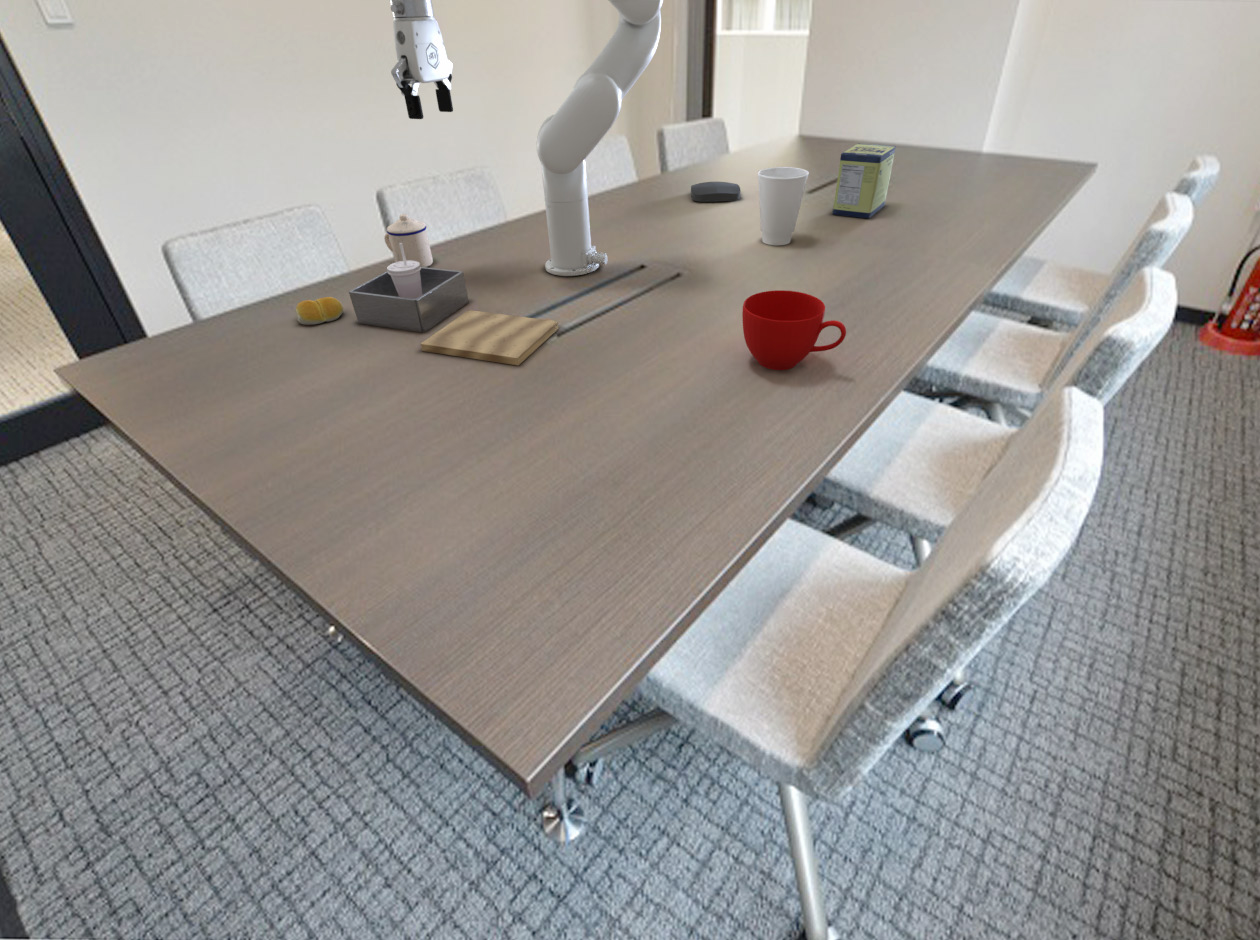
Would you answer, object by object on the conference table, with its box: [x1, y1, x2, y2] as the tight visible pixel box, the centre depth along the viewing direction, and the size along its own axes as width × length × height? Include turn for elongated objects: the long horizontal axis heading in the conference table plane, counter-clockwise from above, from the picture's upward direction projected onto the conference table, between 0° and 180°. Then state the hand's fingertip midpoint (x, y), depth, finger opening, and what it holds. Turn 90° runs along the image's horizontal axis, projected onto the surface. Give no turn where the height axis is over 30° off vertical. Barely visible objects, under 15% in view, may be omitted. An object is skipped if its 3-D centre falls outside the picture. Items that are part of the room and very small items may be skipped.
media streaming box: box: [690, 181, 742, 203], centre depth 196 cm, size 15×15×3 cm
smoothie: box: [386, 243, 422, 299], centre depth 127 cm, size 6×6×14 cm
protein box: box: [832, 143, 896, 220], centre depth 175 cm, size 10×16×16 cm
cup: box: [757, 166, 810, 246], centre depth 155 cm, size 12×12×16 cm
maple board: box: [420, 309, 560, 366], centre depth 119 cm, size 20×16×2 cm
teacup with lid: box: [383, 213, 434, 268], centre depth 153 cm, size 12×9×12 cm
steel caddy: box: [348, 267, 470, 333], centre depth 130 cm, size 16×16×6 cm
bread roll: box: [294, 296, 344, 326], centre depth 130 cm, size 8×9×4 cm
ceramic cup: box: [741, 289, 847, 371], centre depth 105 cm, size 13×17×10 cm
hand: (431, 115), depth 129 cm, fingers open, 9 cm apart
